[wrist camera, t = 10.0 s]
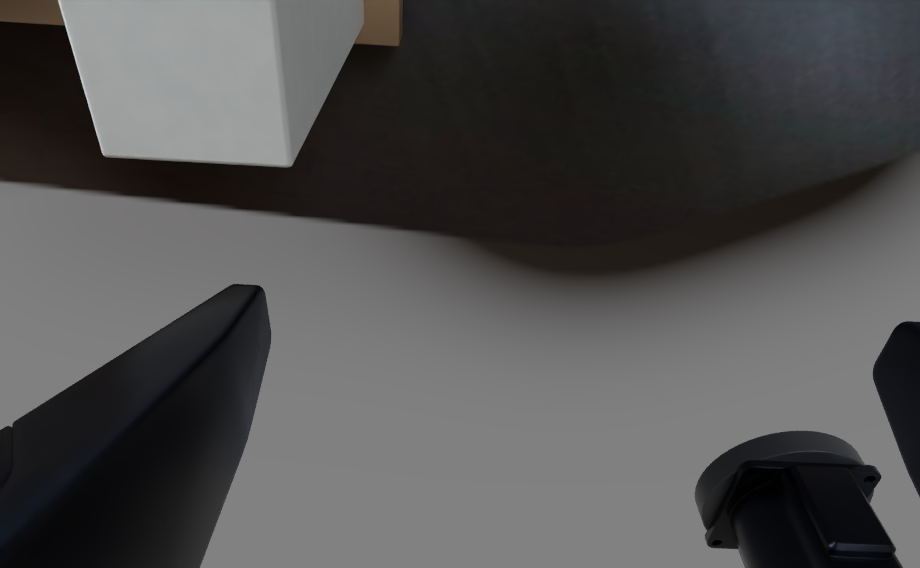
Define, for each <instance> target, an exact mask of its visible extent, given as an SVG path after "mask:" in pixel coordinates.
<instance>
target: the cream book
mask: <svg viewBox="0 0 920 568" xmlns="http://www.w3.org/2000/svg"><path fill="white" fill-rule="evenodd" d="M58 2H59V6H60V9H61V13H62V16H63V19H64V23H65V26H66V30H67V33H68V37H69V40H70V44H71V47H72V51H73V54H74V57H75V61H76V64H77V68H78V71H79V75H80V78H81V82H82V85H83V88H84V92H85V95H86V99H87V102H88V106H89V109H90V113H91V116H92V119H93V123H94V126H95V130H96V133H97V137H98V140H99V144H100V147H101V150H102V154H103V155H104V156H105V157H111V158H128V159H146V160H164V161H181V162H199V163H216V164H234V165H252V166H269V167H291V166H292V165H293V163H294V161H295V159H296V157H297V155H298V153H299V151H300V149H301V147H302V145H303V143H304V141H305V139H306V137H307V135H308V133H309V131H310V129H311V127H312V125H313V123H314V121H315V119H316V117H317V115H318V113H319V111H320V109H321V107H322V105H323V103H324V101H325V100H326V98H327V96H328V94H329V92H330V90H331V88H332V86H333V84H334V82H335V80H336V78H337V76H338V74H339V72H340V70H341V68H342V66H343V64H344V62H345V60H346V58H347V56H348V54H349V52H350V50H351V48H352V46H353V44H354V42H355V40H356V38H357V36H358V34H359V32H360V30H361V29H362V27H363V24H364V0H58Z"/></svg>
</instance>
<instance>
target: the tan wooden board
mask: <svg viewBox="0 0 920 568" xmlns="http://www.w3.org/2000/svg"><path fill="white" fill-rule="evenodd" d="M0 21H2V22H18V23H34V24H50V25H65V23H64V19H63V16H62V13H61V9H60V6H59V2H58V0H0ZM402 35H403V0H364V24H363V27H362V29H361V30H360V32H359V34H358V36H357V38H356V40H355V42H354V44H367V45H383V46H399V45H400V41H401V38H402Z"/></svg>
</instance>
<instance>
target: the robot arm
mask: <svg viewBox="0 0 920 568" xmlns="http://www.w3.org/2000/svg"><path fill="white" fill-rule="evenodd" d="M270 344H271V329H270V323H269V315H268V309H267V303H266V296H265V292H264V290H263V288H262V287H260V286H258V285H243V284H233V285H231V286H229V287H227V288H225V289H224V290H222V291H221V292H219V293H217V294H216V295H214V296H213V297H211V298H210V299H208V300H206V301H205V302H203V303H202V304H200V305H198V306H197V307H195V308H194V309H192V310H190V311H189V312H187V313H186V314H184V315H183V316H181V317H180V318H178V319H176V320H175V321H173V322H172V323H170V324H168V325H167V326H165V327H164V328H162V329H160V330H159V331H157V332H156V333H154V334H152V335H151V336H149V337H148V338H146V339H145V340H143V341H141V342H140V343H138V344H137V345H135V346H133V347H132V348H130V349H129V350H127V351H125V352H124V353H123V354H121V355H119V356H118V357H116V358H114V359H113V360H111V361H110V362H108V363H106V364H105V365H103V366H102V367H100V368H98V369H97V370H95V371H94V372H92V373H91V374H89V375H87V376H86V377H84V378H83V379H81V380H79V381H78V382H76V383H75V384H73V385H72V386H70V387H68V388H67V389H66V390H64V391H62V392H60V393H59V394H57V395H56V396H54V397H53V398H51V399H49V400H48V401H46V402H45V403H43V404H41V405H40V406H39V407H37V408H35V409H33V410H32V411H30V412H29V413H27V414H26V415H24V416H22V417H21V418H19V419H18V420H16V421H15V422H14V423H13V426H12V427H10V426H7V427H5V428H3V429H1V430H0V568H200V566H201V563H202V560H203V558H204V555H205V552H206V550H207V547H208V544H209V541H210V539H211V536H212V533H213V531H214V528H215V526H216V523H217V520H218V518H219V515H220V513H221V510H222V507H223V504H224V502H225V499H226V496H227V494H228V491H229V489H230V486H231V483H232V481H233V478H234V475H235V473H236V470H237V467H238V465H239V462H240V459H241V457H242V454H243V451H244V448H245V445H246V442H247V439H248V435H249V431H250V428H251V424H252V420H253V416H254V412H255V408H256V403H257V400H258V395H259V391H260V387H261V383H262V379H263V374H264V371H265V366H266V362H267V358H268V354H269V350H270ZM873 380H874V383H875V386H876V388H877V391H878V394H879V396H880V399H881V402H882V405H883V407H884V410H885V412H886V415H887V418H888V421H889V423H890V426H891V429H892V431H893V434H894V437H895V439H896V442H897V444H898V447H899V450H900V452H901V455H902V458H903V460H904V463H905V466H906V468H907V470H908V473H909V475H910V478H911V479H912V482H913V484H914V486H915V488H916V490H917V492H918V494H919V496H920V322H903V323H901V324H899V325H898V326H897V327H896V328H895V329H894V330H893V332H892V334H891V336H890V337H889V339H888V341H887V343H886V344H885V346H884V348H883V350H882V352H881V353H880V355H879V357H878V359H877V360H876V362H875V365H874V368H873ZM880 479H881V475H880V473H879V471H878V470H877V468H876V467H874V466H871V465H853V464H830V463H808V462H786V461H763V460H748V461H745V462H743V463H742V464H740V466H739V467H738V469H737V471H736V473H735V475H734V477H733V479H732V481H731V483H730V485H729V487H728V489H727V492H726V494H725V496H724V498H723V500H722V502H721V504H720V506H719V508H718V510H717V512H716V514H715V516H714V518H713V520H712V522H711V524H710V526H709V528H708V530H707V532H706V534H705V539H706V542H707V545H708V546H709V547H711V548H728V549H738V550H739V553H740V555H741V558H742V561H743V563H744V566H745V568H903V567H902V565H901V564H900V562H899V560H898V559H897V557H896V555H895V551H896V548H895V546H894V544H893V542H892V541H891V539H890V537H889V536H888V534H887V532H886V530H885V529H884V527H883V526H882V524H881V522H880V520H879V519H878V517H877V515H876V514H875V512H874V510H873V509H872V507H871V505H870V503H869V502H868V500H867V498H868V496H869V495H870V494H871V492H872V491H873V489H874V488H875V487H876V485H877V484H878V482H879V481H880Z"/></svg>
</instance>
